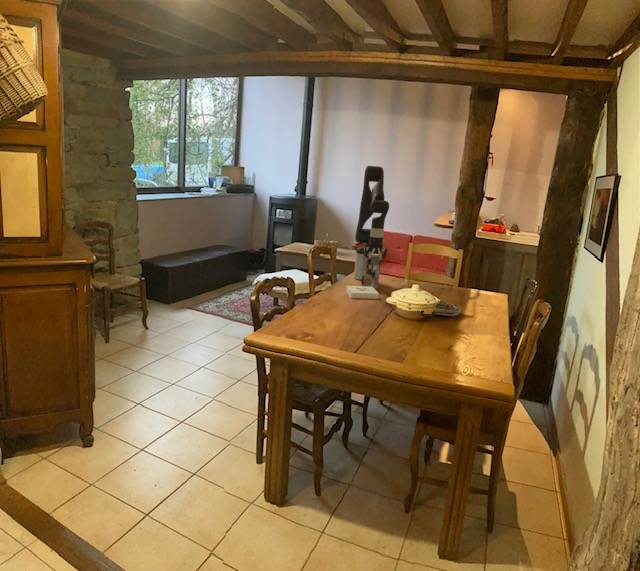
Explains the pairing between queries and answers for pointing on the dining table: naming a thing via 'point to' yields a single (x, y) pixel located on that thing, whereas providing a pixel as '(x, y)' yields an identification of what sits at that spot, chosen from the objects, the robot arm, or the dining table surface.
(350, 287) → the socket board
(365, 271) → the coffee box
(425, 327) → the dining table surface
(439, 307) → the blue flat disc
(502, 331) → the dining table surface
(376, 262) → the plug
